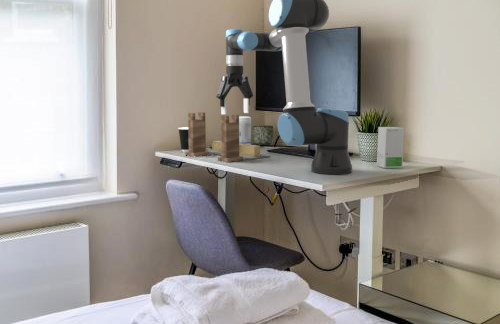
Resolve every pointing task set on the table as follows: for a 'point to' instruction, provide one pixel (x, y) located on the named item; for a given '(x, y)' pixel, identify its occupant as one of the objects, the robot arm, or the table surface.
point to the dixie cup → (184, 139)
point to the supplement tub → (245, 130)
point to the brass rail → (240, 149)
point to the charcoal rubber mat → (240, 155)
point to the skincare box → (390, 147)
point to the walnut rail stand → (227, 137)
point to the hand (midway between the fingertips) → (235, 113)
